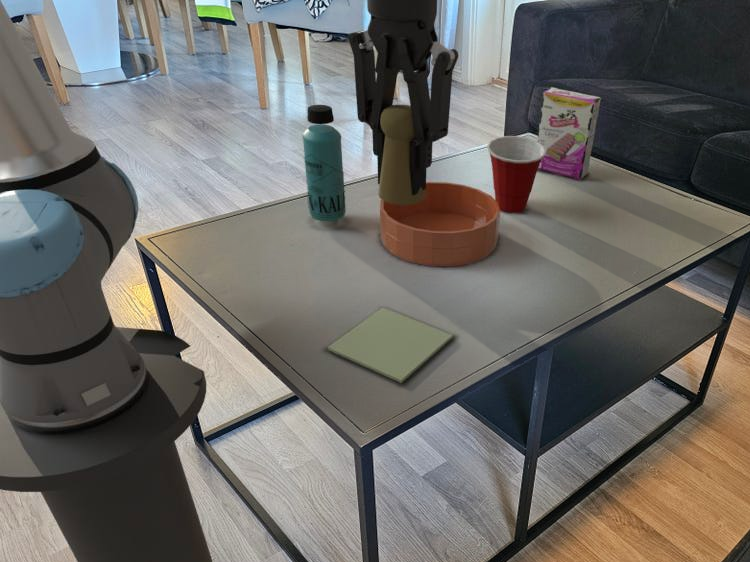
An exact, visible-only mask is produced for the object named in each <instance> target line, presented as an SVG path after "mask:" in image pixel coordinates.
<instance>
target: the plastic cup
mask: <svg viewBox="0 0 750 562" xmlns="http://www.w3.org/2000/svg"><path fill="white" fill-rule="evenodd" d="M486 147H487V148H486V149H487V151H488V153H489V157H490V163H491V169H492V170H491V171H492V179H493V180H492V183H493V190H494V199H495V200H496V201H497V202H498V204H499V208H500V212H504V213H509V214H517V213H518V214H519V213H522V212H524V211H525V210H526V208H527V205H528V202H529V198H530V195H531V193H532V189H533V188H534V187H533V186H534V182H535V179H536V177H537V172H538V170H537V169H538V167H539V164H540V162H541V159H542V158H543V157H544V155H545V153H546V149H545V147H544V145H542V144H541V143H539V142H538V141H537V140H535V139H533V138H530V137H526V136H519V135H503V136H499V137H495V138H493V139H491V140H490V141H489V142H488V144H487V145H486Z"/></svg>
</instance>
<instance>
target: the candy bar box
mask: <svg viewBox="0 0 750 562" xmlns="http://www.w3.org/2000/svg"><path fill="white" fill-rule="evenodd" d="M541 100H542V103H541V109H540V116H539V126H538V133H537V140H536V141H538V142H539V143H541V144H542V145H544V147H545V149H546V153H545V155H544V157H543V158H542V159H541V162H540V164H539V167H538V169H537V171H541V172H545V173H549V174H553V175H556V176H557V175H558V176H562V177H567V178H570V179H575V180H579V181H581V180H583V179H584V177H585V176H587V174H589V167H590V161H591V156H592V151H593V145H594V140H595V134H596V128H597V123H598V117H599V111H600V107H601V106H600V105H601V101H602V97H600V96H596V95H591V94H586V93H581V92H576V91H571V90H567V89H562V88H557V87H552V86H551V87H550V88H548V89H547V90H544V91H543V94H542V99H541Z"/></svg>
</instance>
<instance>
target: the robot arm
mask: <svg viewBox="0 0 750 562" xmlns="http://www.w3.org/2000/svg"><path fill="white" fill-rule="evenodd" d="M366 7H367V9H366V10H367V12H368V14H369V15H370V20H369V23H368V25H367V29H362V30H357V31H354V32H350V33H349V34H348V42H349V45H350V48H351V51H352V55H353V65H354V82H355V83H354V84H355V96H356V98H355V99H356V112H357V119H358V121H359V122H360V123H365V124H367V125H368V126H369V127H370V130H371V133H372V152H373V155H374V156H375V157H377V184H378V185H379V184H380V176H381V167H382V159H383V150H384V142H385V134H384V132H383V131H382V128H381V124H380V118H381V114H382V112H383V110H384V109H385V108H387V107H388V106H391V105H394V99H395V94H396V93H395V92H396V88H397V87H396V86H397V80H398V75H399V73H400V72H402V77H403V80H404V82H405V83H406V86H407V92H408V93H407V94H408V100H409V106H411V113H412V119H413V126H414V132H415V139H413V140H412V141H411V142H410V155H409V170H410V179H411V189H412V195H416V194H418V191H419V189H420V187H421V188H422V190H424V189H426V182H427V169H428V168H430V167H431V166H432V163H433V143H435V142H437V141H439V140H442V139H443V138H446V137H447V136H448V134H449V125H450V111H451V110H450V109H451V97H452V96H451V95H452V83H453V72H454V69H455V67H456V64H457V61H458V58H459V51H457V49H455V48H451V49H448V48H447V47H446V46H444V45H443V44H441V43H440V42H439V36H438V34H437V32H436V27H435V24H436V23H435V22H436V18H437V15H438V0H366ZM374 49H375V50H376V53H377V55H376V57H375V50H374ZM431 55H432V60H431V65H432V66H433V68H432V72H431V82H430V87H429V81H428V78H429V76H430V69H429V62H428V60H429V58H430V57H431ZM138 216H139V200H138V195H137V192H136V190H135V187H134V185H133V183H132V181H131V180H130V178H129V177H128V176H127V174H126V173H125V172H124V171H123V169H121V168H120V167H119V166H118V165H117V164H115V163H114V162H110V161H109V160H107V159H106V158H105V157H104V156H102V155H101V153H100V152H99V150H98V147H97V146H96V144H95V142H94V141H93V140H92V139H91V138H88V137H86V136H84V135H82V134H79V133H77V132H75V131H74V130H72V128H71V127H70V125H69V123H68V121H67V119H66V118H65V115H64V114H63V112H62V110H61V108H60V106H59V104H58V103H57V100H56V99H55V97H54V96H53V94H52V92H51V90H50V88H49V86H48V84H47V83H46V81H45V79H44V77H43V75H42V74H41V72H40V70H39V68H38V66H37V64H36V62H35V61H34V59H33V57H32V55H31V53H30V51H29V50H28V48H27V46H26V44H25V42H24V40H23V39H22V37H21V35H20V33H19V30H18V29H17V28H16V25H15V24H14V22H13V21H12V18H11V17H10V15H9V13H8V12H7V9H6V7H5V6H4V4H3V2H2V1H1V0H0V400H1V404H2V407H3V408H4V410H5V412H6V414H7V416H8V418H9V419H10V421H11V422H12V423H13V424H14V425H16V426H17V427H19V428H21V429H23V430H26V431H29V432H33V433H39V434H65V433H72V432H77V431H81V430H85V429H89V428H92V427H95V426H98V425H100V424H103V423H105V422H107V421H110V420H112V419H113V418H115V417H117V416H119V415H121V414H122V413H124V412H125V411H127V410H128V409H129V408H130V407H132V406H133V405H134V404H135V403H136V402H137V401H138V400H139V399H140V398H141V396H142V395H143V393H144V392H145V390H146V388H147V385H148V372H147V369H146V366H145V363H144V360H143V358H142V357H141V355H140V354H139V353H138V352H137V351H136V349H135V348H134V347H133V346H132V345H131V344H130V343H129V341H128V340H127V339H126V338H125V337H124V336H123V334H122V333H121V332H120V331H119V330H118V329H117V327H118V326H116V325H115V323H114V321H113V318H112V315H111V312H110V309H109V306H108V303H107V300H106V297H105V293H104V291H103V288H102V281H103V279H104V277H105V276H106V274H107V273H108V271H109V269H110V268H111V266H112V264H113V263H114V261H115V260H116V258H117V256H118V255H119V254H120V252H121V250H122V249H123V247H124V246H125V245H126V244H127V243H128V241H129V240H130V239H131V237H132V234H133V232H134V231H135V228H136V222H137V219H138Z"/></svg>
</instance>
